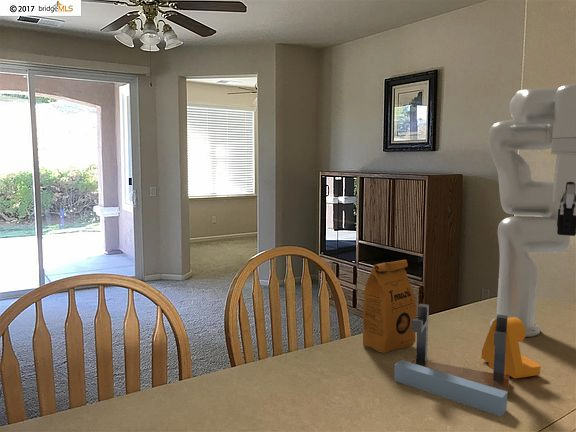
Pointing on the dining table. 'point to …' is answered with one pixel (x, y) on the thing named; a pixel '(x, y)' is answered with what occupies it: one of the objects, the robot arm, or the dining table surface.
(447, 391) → the rail
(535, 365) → the bracket
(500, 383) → the stand
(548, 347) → the dining table surface
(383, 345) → the coffee package
